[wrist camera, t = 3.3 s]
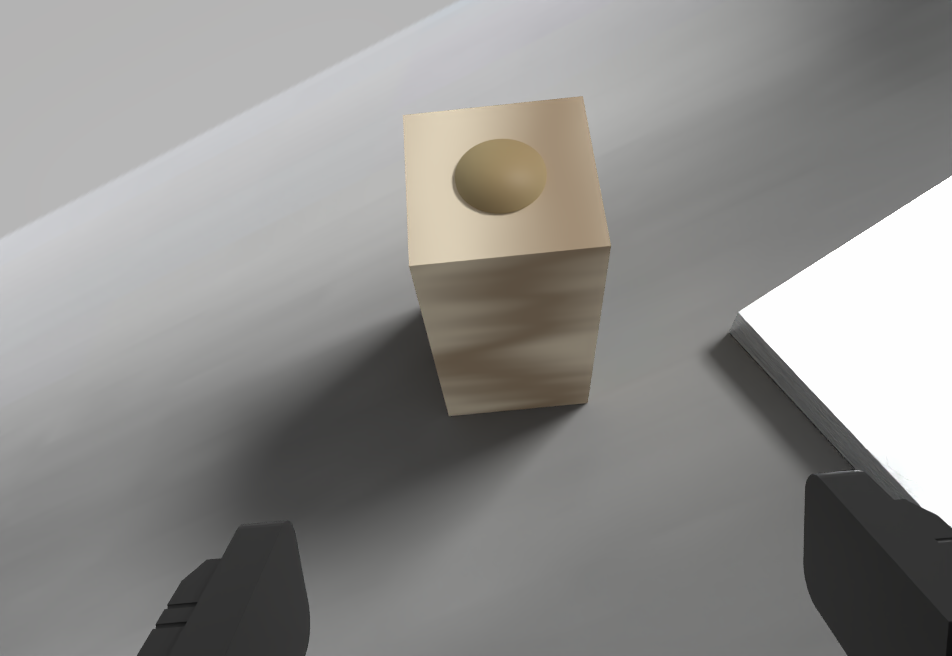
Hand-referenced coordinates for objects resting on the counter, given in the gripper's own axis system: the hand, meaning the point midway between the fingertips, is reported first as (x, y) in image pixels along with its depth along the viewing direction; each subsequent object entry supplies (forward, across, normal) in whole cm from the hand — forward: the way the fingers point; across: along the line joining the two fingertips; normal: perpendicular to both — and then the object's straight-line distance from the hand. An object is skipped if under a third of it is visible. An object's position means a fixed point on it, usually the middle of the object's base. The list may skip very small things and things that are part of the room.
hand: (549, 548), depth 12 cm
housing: (+17, 0, +2) cm, 17 cm away
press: (+19, -25, +1) cm, 32 cm away
